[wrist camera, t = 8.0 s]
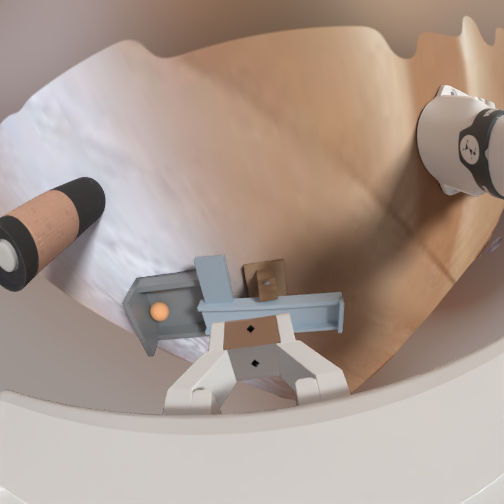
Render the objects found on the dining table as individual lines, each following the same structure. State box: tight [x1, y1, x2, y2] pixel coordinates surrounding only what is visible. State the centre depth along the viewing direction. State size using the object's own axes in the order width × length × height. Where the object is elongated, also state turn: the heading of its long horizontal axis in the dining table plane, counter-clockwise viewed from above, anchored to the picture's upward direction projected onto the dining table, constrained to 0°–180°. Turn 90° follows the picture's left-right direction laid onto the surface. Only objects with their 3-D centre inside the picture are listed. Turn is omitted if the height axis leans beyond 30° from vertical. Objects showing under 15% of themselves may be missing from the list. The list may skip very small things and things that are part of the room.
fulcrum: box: [244, 259, 287, 302], centre depth 41 cm, size 6×10×7 cm, turn 8°
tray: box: [122, 270, 210, 356], centre depth 42 cm, size 12×11×7 cm
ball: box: [150, 302, 169, 321], centre depth 43 cm, size 3×3×3 cm
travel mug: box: [0, 177, 105, 292], centre depth 27 cm, size 8×8×20 cm
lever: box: [194, 255, 344, 335], centre depth 37 cm, size 20×12×3 cm, turn 98°
